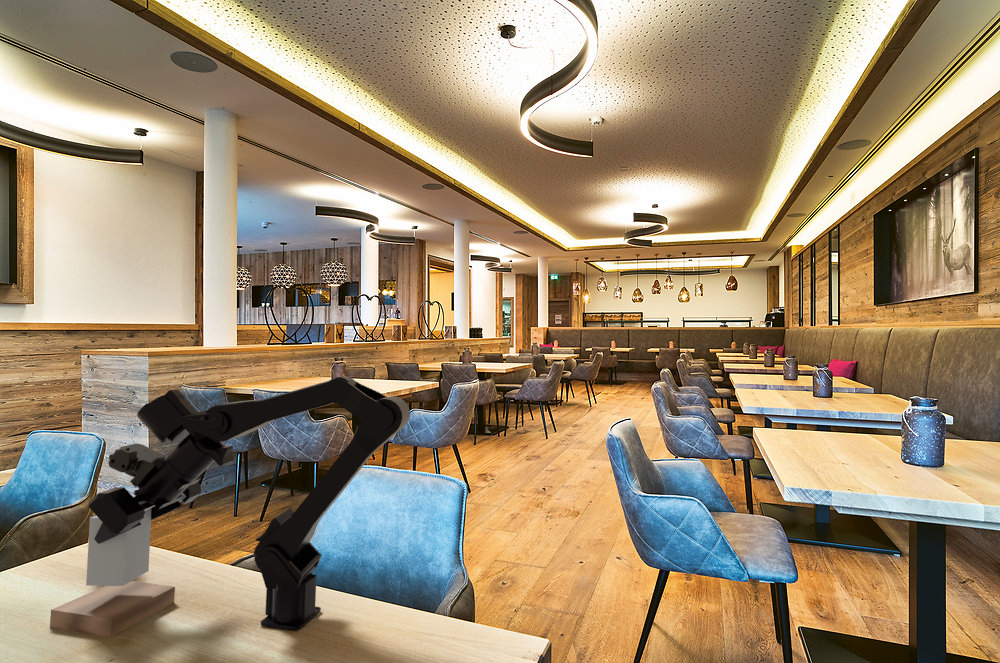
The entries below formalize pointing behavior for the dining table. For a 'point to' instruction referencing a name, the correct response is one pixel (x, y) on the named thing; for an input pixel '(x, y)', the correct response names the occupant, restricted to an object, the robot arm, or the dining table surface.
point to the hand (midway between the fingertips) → (111, 534)
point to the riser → (112, 608)
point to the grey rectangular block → (118, 554)
